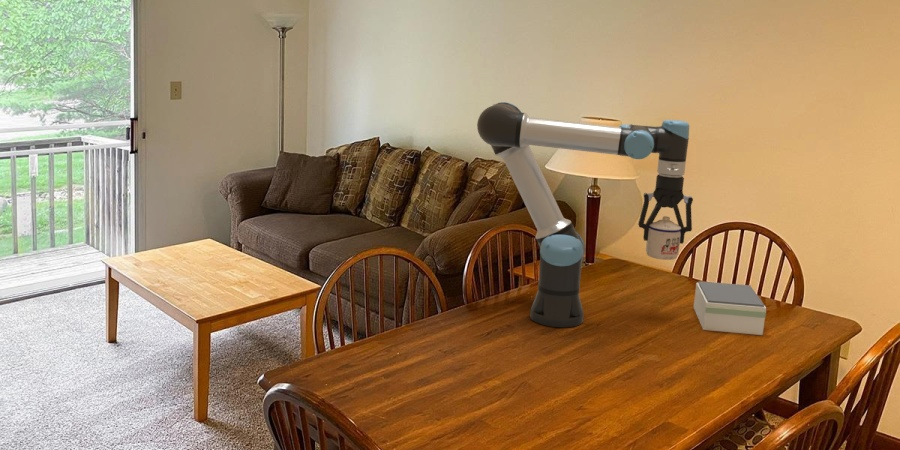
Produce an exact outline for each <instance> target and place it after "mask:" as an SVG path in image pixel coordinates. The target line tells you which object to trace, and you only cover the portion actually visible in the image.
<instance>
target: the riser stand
mask: <svg viewBox="0 0 900 450" xmlns="http://www.w3.org/2000/svg"><path fill="white" fill-rule="evenodd" d="M694 292H695V293H694V301H693V311H694V312H695V315H696V316H697V318H698V321H699V323H700V326H701V328H702V330H703V331H712V332H721V333H722V332H724V333H734V334H744V335H756V336H764V328H765V320H766V315H767V307H766V304H764V303H763V301H762V300H761V298H760V297H759V295H758V294H757V293H756V291H755V289H753V287H752V286H751V285H749V284H736V283H726V282H712V281H701V280H700V281H698V282H696V283H695V291H694Z"/></svg>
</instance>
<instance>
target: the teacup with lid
mask: <svg viewBox="0 0 900 450" xmlns="http://www.w3.org/2000/svg"><path fill="white" fill-rule="evenodd" d="M670 219H671V218H670V216H662V219H659V220H657V221H653V223H652V224H650V226H649V239H648V248H647V252H646V256H648V257H650V258H653V259H656V260H662V261H663V260H665V261H671V260H675V259H677V258H678V256H679V253H678V247H679V248H680V245H679V238H680V231H681V227H680V226H679V225H678V223H677V224H676V223H675V222H674V221H673V220H670Z"/></svg>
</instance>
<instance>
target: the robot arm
mask: <svg viewBox="0 0 900 450" xmlns="http://www.w3.org/2000/svg"><path fill="white" fill-rule="evenodd" d="M476 123H477V124H476V126H477V127H476V128H477V132H478V135H479V137H480V138H481V140H482V141H484V143H486V144H488V145H490V147H491V148H492V150H493V153H494V155H495V156H496V157H499V158H502V159H503V162H504V164H505V166H506V168H507V170H508V172H509V174H510V176H511V178H512V180H513V182H514V184H515V186H516V189H517V191H518V193H519V195H520V196H521V199H522V201H523V203H524V205H525V207H526V209H527V211H528V213H529V215H530V217H531V220H532V222H533V223H534V226H535V228H536V230H537V231H536V234H535V239H536V242H537V243H538V246H539V254H540V255H539V272H538V284H537V285H538V287H537V292H536V294H535V298H534V300H533V303H532V304H531V307H530V311H529V314H530V315H529V317H530V319H531V320H532V321H533V322H535V323H537V324H539V325H543V326H547V327H553V328H573V327H577V326H579V325H581V324H583V322H584V316H585V315H584V310H583V305H582V301H581V298H580V286H581V285H580V284H581V275H582V264H583V260H584V257H585V252H586V251H585V250H586V249H585V248H586V247H585V243H584V240H583V239H582V237H581V235H580V234H579V233H578V231H576V228H575V226H574V225H573V223H572V221H571V219H567V218H565V217H564V216H563V214H562V212H561V209H560V207H559V205H558V202H557V201H556V199H555V197H554V195H553V192H552V191H551V188H550V186H549V185H548V182H547V180H546V177H545V176H544V174H543V172H542V169H541V168H540V166H539V163H538V162H537V159H536V156H535V155H534V153H533V150H532V148H531V146H535V147H536V146H537V147H542V148H544V147H545V148H554V149H561V150H562V149H564V150H570V151H571V150H572V151H580V152H587V153H588V152H589V153H598V154H604V155H605V154H606V155H613V156H621V157H629V158H632V159H633V160H644V159H645V158H646V159H647V157H649V156H650V154H658V161H657V169H656V170H657V171H656V172H657V173H658V174H656V179H655V188H654V191H653V192H651V193H650V192H649V193H647V192H644V193H643V200H644V201H643V205H642V208H641V213H640V216H639V220H638V223H637V225H638V228H639V229H640V228H641V229H643V241H645V242H646V245H645V252H646V253H647V248H648V239H649V226H650V224H652V223H653V222H655V220H656V217H657V216H658V215H659V212H660V210H661V208H665V209H666V208H670V209H673V211H674V215H675V218H676V221H677V225H679V226H680V227H681V231H680V238H679V247H678V254H680V253H679V251H680V245H682V244H684V242H685V234H686V233H687V232H691V231H692V230H693V222H692V220H693V219H692V204H693V201H694V198H693V197H692V196H690V195H689V196H688V195H685V194H684V193H683V192H684V191H683V189H684V181H685V178H684V175H685V171H686V162H687V155H688V147H689V140H690V139H689V137H690V124H689V122H687V121H685V120H679V119H677V120H676V119H665V120H662V123H661V126H653V125H651V126H650V125H649V126H648V125H637V124H633V123H632V124H620V125H619V126H610V125H609V126H608V125H602V124H594V123H593V124H592V123H584V122H575V121H565V120H557V119H549V118H539V117H530V116H529V115H528V114H527V113H526V112H522V111H521V110H520V109H519V108H518V107H517V106H516V105H514V104H512V103H509V102H498V103H494V104H492V105H491V106H488V107H486V108H485V109H484V110H483V111H482V112H481V113H480V114H479V117H478V120H477V122H476ZM653 198H654V199H655V201H656V204H655V205H654V207H653V210H651V213H650V215H649V216H648V219H647V221H646V222H645V220H646V216H647V213H648V212H647V211H648V208H649V204H650V202H651V201H652V199H653ZM681 201H683V203H684V204H685V223H686V226H684V222H683V220H682V216H681V213H680V212H681V211H680V209H679V203H680V202H681Z"/></svg>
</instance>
